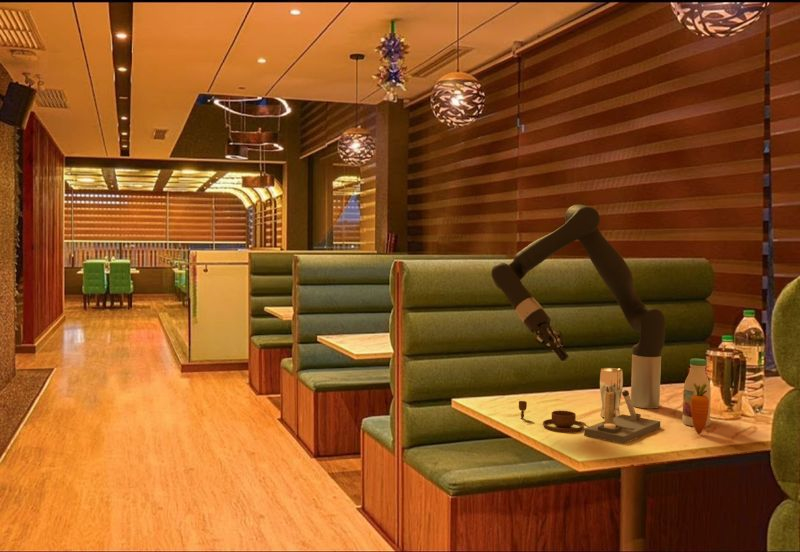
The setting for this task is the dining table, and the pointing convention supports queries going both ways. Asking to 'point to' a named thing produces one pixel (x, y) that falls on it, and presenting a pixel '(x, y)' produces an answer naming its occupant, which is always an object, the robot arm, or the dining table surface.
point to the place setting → (558, 420)
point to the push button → (610, 426)
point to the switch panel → (623, 428)
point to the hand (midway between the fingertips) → (565, 359)
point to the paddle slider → (609, 408)
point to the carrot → (699, 408)
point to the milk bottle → (699, 378)
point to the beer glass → (611, 387)
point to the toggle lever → (629, 402)
